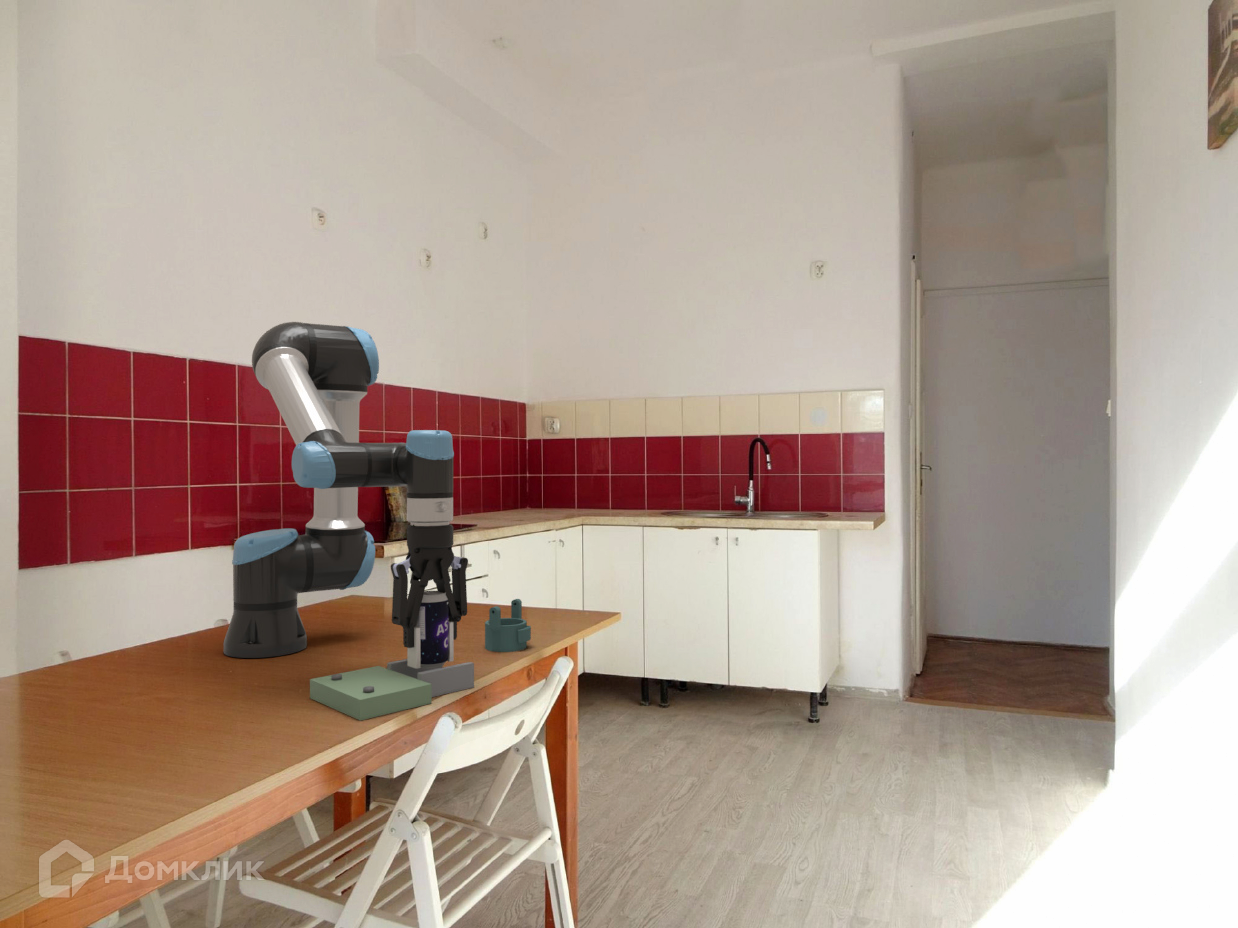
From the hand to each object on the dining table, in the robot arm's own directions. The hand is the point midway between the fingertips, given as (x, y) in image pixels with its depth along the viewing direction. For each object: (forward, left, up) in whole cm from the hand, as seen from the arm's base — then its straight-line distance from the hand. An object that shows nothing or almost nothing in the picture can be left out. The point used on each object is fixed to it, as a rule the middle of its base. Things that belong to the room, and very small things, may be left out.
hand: (430, 662), depth 140 cm
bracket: (-14, +27, -4) cm, 31 cm away
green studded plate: (0, -6, -4) cm, 7 cm away
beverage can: (0, 0, -1) cm, 1 cm away
